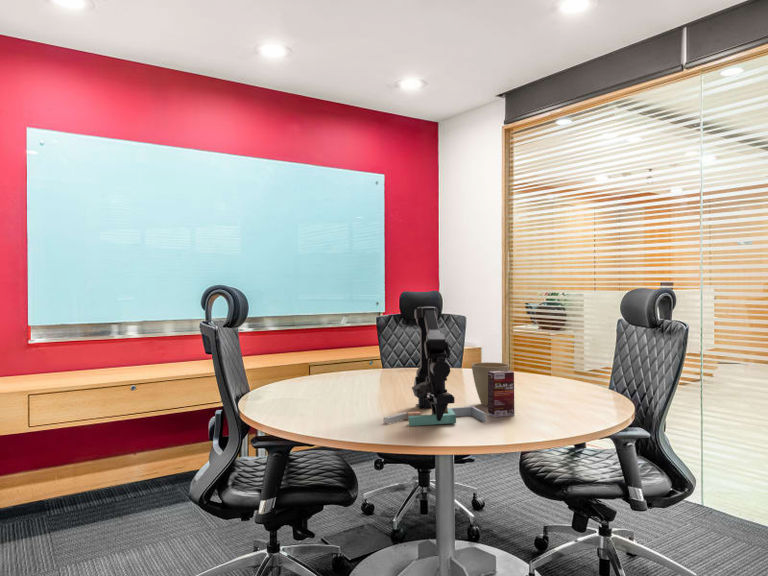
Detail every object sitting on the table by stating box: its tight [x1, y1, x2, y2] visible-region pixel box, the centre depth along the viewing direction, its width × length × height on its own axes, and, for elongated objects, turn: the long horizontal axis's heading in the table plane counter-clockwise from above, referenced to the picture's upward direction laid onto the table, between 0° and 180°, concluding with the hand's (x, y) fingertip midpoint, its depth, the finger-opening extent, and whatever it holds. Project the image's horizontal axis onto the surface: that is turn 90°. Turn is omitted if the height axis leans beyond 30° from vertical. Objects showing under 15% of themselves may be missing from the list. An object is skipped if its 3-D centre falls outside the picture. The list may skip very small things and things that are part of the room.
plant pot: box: [471, 362, 510, 407], centre depth 215 cm, size 15×15×16 cm
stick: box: [383, 412, 408, 425], centre depth 191 cm, size 2×10×2 cm, turn 136°
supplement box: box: [487, 370, 515, 418], centre depth 197 cm, size 9×5×16 cm, turn 106°
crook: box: [408, 409, 457, 427], centre depth 188 cm, size 9×16×3 cm, turn 92°
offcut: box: [406, 411, 422, 421], centre depth 193 cm, size 2×4×2 cm, turn 102°
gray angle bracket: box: [448, 405, 486, 422], centre depth 192 cm, size 12×12×3 cm
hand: (437, 419), depth 185 cm, fingers closed on crook, 3 cm apart
